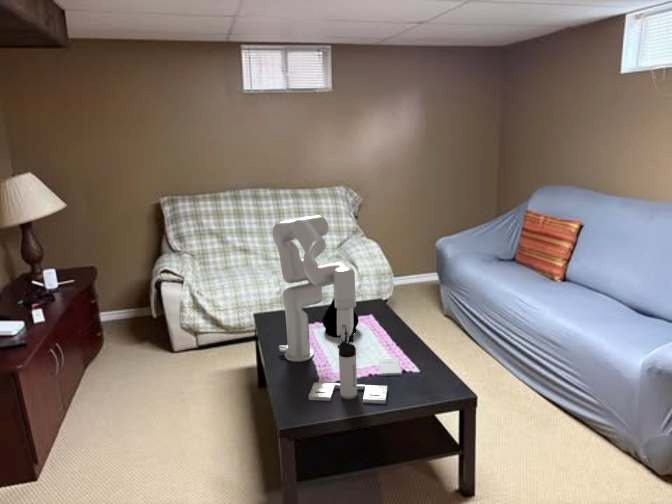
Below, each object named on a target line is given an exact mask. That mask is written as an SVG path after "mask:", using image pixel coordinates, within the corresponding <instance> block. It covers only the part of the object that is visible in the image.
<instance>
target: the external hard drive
mask: <svg viewBox="0 0 672 504" xmlns="http://www.w3.org/2000/svg"><path fill="white" fill-rule="evenodd" d="M378 364H379V365H378V366H379V370H380V371H381V372H380V376H381V377H382V376H383V377H385V376H387V377H389V376H402V375H403V373H402V369H401V365H400V361H399V359H398V358H389V359H388V358H382V359H381V358H380V359H378Z"/></svg>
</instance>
